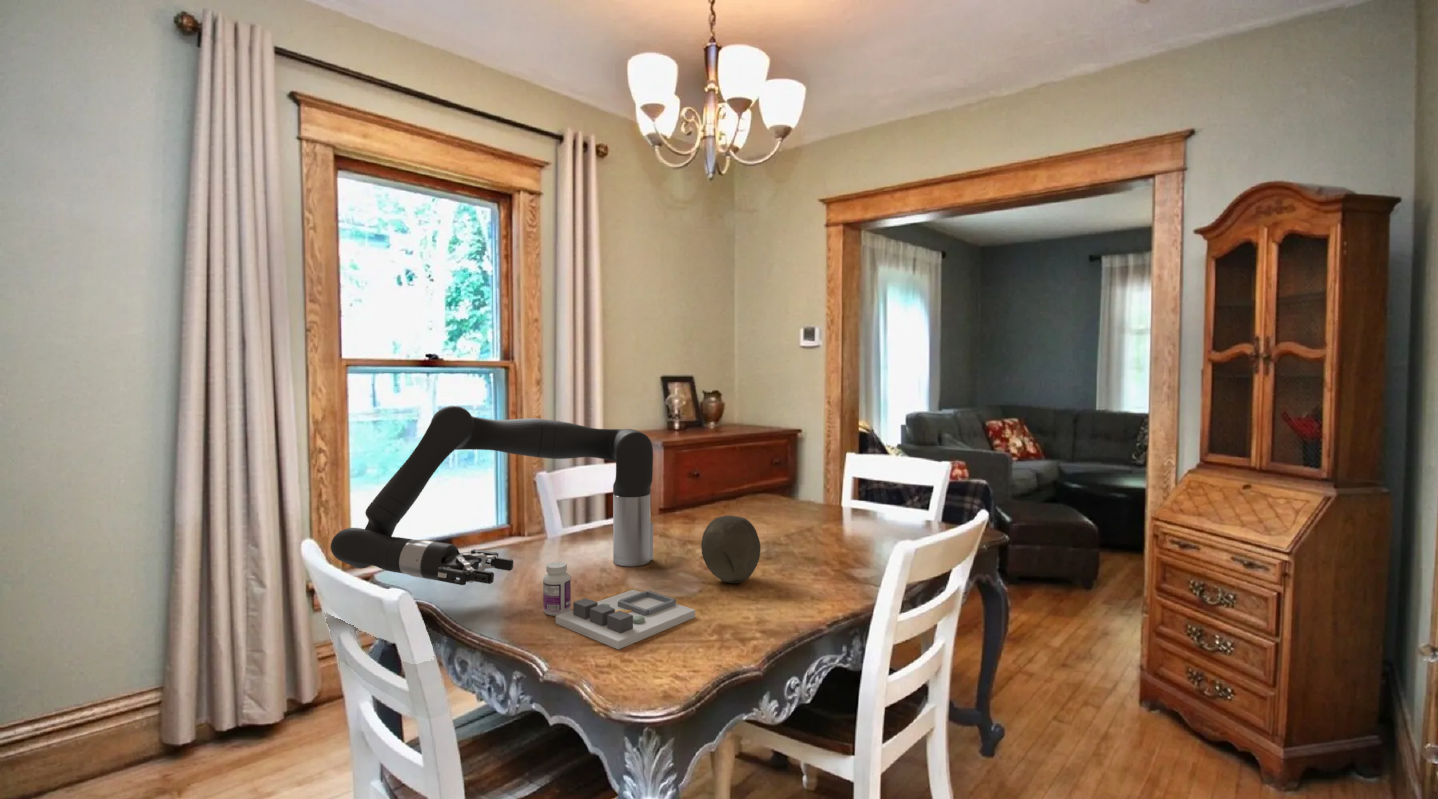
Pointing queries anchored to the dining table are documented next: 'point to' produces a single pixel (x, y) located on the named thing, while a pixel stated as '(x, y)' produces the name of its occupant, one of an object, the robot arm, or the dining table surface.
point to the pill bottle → (556, 589)
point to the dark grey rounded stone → (731, 548)
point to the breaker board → (638, 628)
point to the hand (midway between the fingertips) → (503, 571)
